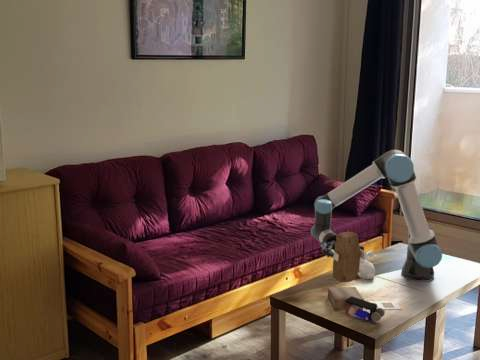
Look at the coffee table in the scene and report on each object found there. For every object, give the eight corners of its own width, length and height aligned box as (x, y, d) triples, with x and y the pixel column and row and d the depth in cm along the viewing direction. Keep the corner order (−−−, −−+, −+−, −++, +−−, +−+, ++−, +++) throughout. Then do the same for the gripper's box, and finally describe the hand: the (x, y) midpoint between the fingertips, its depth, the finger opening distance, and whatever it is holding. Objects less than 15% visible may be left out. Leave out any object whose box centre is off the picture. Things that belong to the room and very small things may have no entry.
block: (343, 284, 239) (347, 237, 235) (330, 278, 245) (333, 233, 241) (361, 279, 246) (364, 233, 242) (347, 273, 252) (351, 229, 247)
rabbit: (352, 272, 284) (354, 249, 281) (369, 271, 287) (371, 247, 284) (365, 282, 273) (367, 257, 270) (382, 280, 276) (384, 255, 273)
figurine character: (383, 324, 234) (348, 310, 242) (386, 307, 232) (351, 293, 239) (377, 330, 228) (341, 316, 236) (380, 313, 226) (344, 299, 234)
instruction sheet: (394, 301, 252) (394, 300, 252) (401, 309, 244) (401, 308, 244) (360, 302, 250) (360, 301, 250) (366, 310, 243) (366, 309, 243)
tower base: (354, 297, 255) (355, 287, 254) (362, 310, 242) (363, 299, 241) (327, 298, 254) (328, 287, 253) (334, 311, 241) (335, 299, 240)
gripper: (354, 247, 264) (376, 264, 243) (304, 249, 258) (323, 267, 237) (355, 231, 262) (378, 246, 242) (305, 233, 256) (324, 249, 236)
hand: (351, 257), depth 240 cm, fingers closed on block, 11 cm apart
